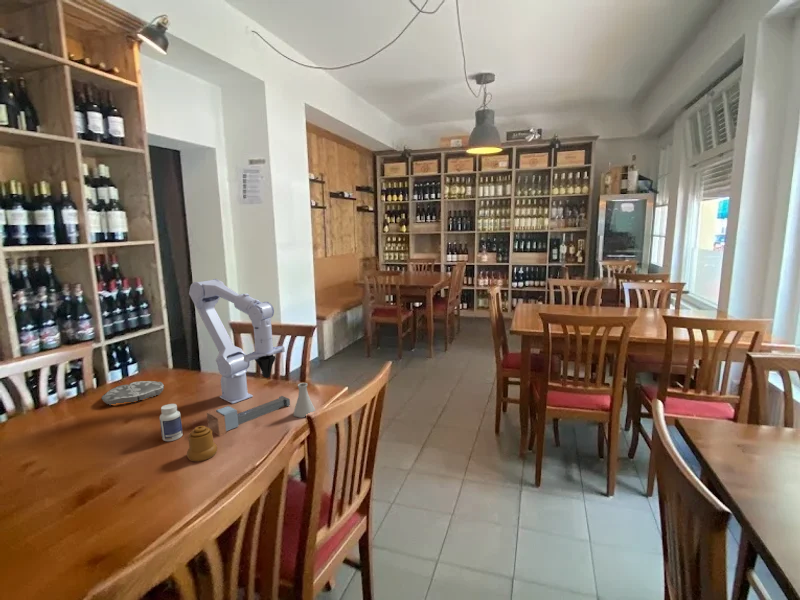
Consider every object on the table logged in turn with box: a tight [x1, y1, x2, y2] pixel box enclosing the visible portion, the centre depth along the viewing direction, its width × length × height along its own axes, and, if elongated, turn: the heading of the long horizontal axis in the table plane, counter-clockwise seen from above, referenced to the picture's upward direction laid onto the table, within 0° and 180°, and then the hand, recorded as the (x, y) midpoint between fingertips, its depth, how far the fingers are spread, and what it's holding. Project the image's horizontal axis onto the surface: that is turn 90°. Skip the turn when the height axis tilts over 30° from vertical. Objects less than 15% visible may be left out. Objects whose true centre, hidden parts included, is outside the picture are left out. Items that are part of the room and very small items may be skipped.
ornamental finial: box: [186, 425, 218, 462], centre depth 113 cm, size 8×8×8 cm
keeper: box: [215, 405, 239, 432], centre depth 129 cm, size 5×4×5 cm
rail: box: [206, 395, 291, 437], centre depth 135 cm, size 7×26×6 cm, turn 140°
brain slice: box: [100, 380, 165, 406], centre depth 156 cm, size 20×17×3 cm
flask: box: [293, 382, 316, 418], centre depth 137 cm, size 7×7×10 cm
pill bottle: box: [159, 403, 184, 442], centre depth 123 cm, size 5×5×10 cm
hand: (266, 376), depth 144 cm, fingers closed
